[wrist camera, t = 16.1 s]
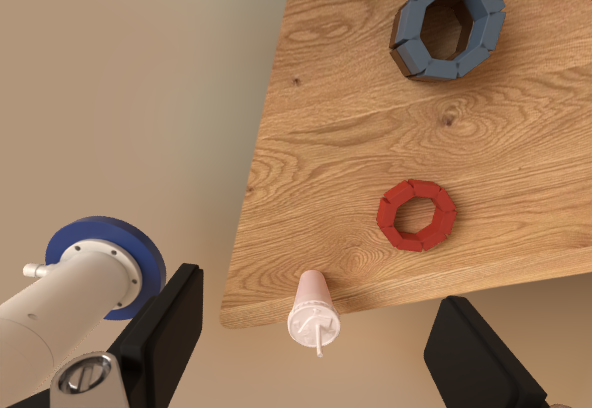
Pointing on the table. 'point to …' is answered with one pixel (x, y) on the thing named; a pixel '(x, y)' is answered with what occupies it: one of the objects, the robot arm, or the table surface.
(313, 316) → the smoothie
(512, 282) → the table surface
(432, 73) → the ring middle
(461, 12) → the ring bottom
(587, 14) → the table surface
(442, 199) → the ring top
